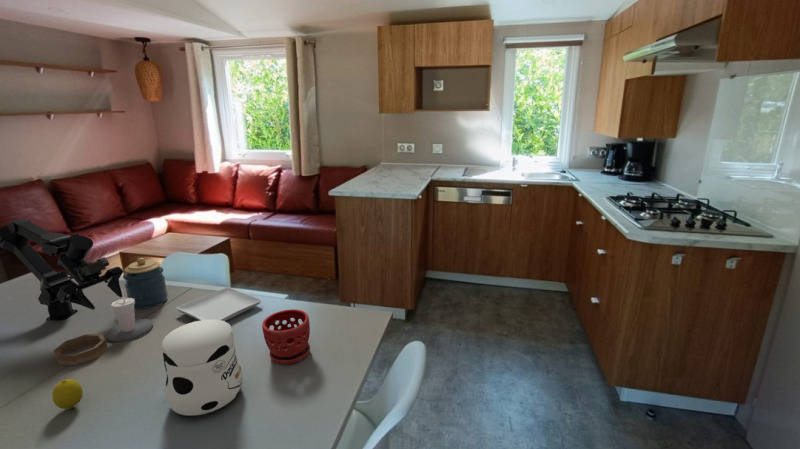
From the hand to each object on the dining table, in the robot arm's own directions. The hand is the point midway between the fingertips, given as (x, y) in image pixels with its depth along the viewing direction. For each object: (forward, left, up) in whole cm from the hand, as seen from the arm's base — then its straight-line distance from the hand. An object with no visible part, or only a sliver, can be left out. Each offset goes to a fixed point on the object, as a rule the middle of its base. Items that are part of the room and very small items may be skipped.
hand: (108, 302), depth 132 cm
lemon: (+39, +13, -9) cm, 42 cm away
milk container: (+38, +45, -9) cm, 59 cm away
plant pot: (+21, +62, -9) cm, 66 cm away
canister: (-19, +2, -9) cm, 21 cm away
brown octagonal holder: (+15, 0, -9) cm, 18 cm away
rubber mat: (+3, +7, -9) cm, 12 cm away
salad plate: (-9, +32, -10) cm, 34 cm away
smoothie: (+3, +7, -8) cm, 11 cm away
